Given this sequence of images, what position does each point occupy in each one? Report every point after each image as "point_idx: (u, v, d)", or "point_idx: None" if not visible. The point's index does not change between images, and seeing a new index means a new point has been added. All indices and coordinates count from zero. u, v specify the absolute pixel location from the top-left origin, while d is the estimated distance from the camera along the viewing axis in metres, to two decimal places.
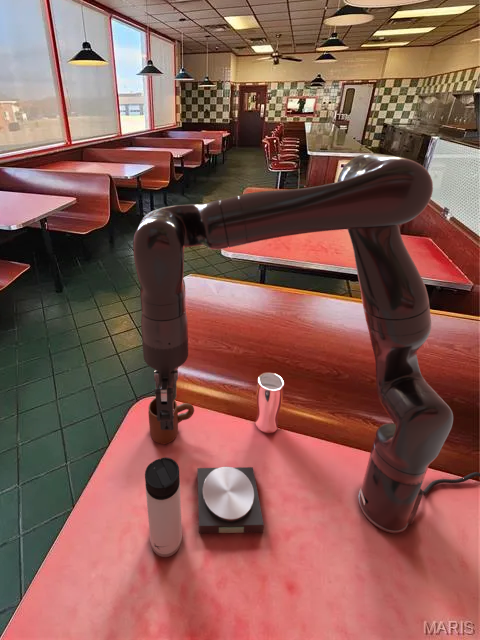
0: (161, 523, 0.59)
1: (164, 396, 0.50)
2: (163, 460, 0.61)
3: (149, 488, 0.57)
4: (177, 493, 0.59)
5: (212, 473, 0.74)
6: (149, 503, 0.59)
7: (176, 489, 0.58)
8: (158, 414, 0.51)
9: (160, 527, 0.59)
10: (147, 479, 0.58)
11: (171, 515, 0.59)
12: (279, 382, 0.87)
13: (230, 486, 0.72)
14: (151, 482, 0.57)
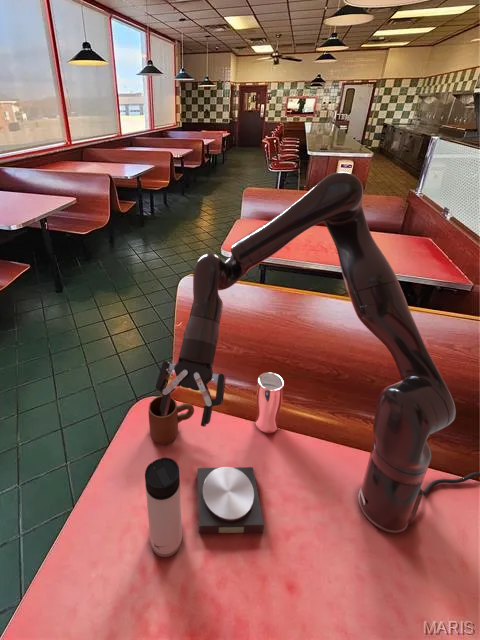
0: (161, 523, 0.59)
1: (224, 379, 0.68)
2: (163, 460, 0.61)
3: (149, 488, 0.57)
4: (177, 493, 0.59)
5: (212, 473, 0.74)
6: (149, 503, 0.59)
7: (176, 489, 0.58)
8: (221, 396, 0.66)
9: (160, 527, 0.59)
10: (147, 479, 0.58)
11: (170, 515, 0.59)
12: (279, 382, 0.87)
13: (230, 486, 0.72)
14: (151, 482, 0.57)
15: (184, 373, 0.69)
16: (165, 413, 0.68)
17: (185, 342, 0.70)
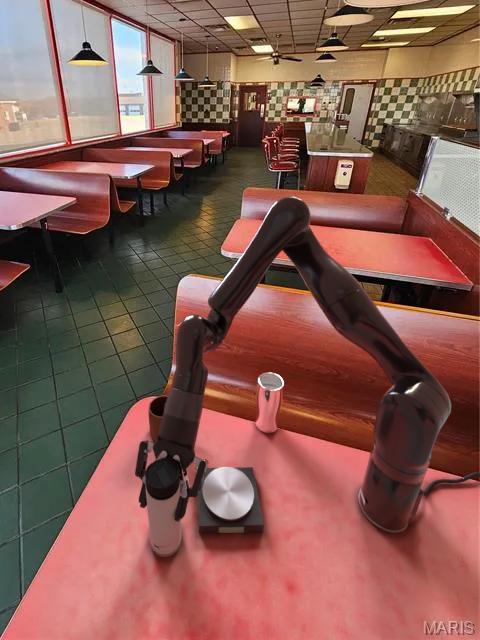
0: (161, 523, 0.59)
1: (206, 466, 0.62)
2: (163, 460, 0.61)
3: (149, 488, 0.57)
4: (177, 493, 0.58)
5: (212, 473, 0.74)
6: (149, 503, 0.59)
7: (176, 489, 0.58)
8: (199, 487, 0.59)
9: (159, 527, 0.59)
10: (147, 479, 0.57)
11: (171, 515, 0.59)
12: (279, 382, 0.87)
13: (230, 486, 0.72)
14: (151, 482, 0.57)
15: (163, 455, 0.62)
16: (145, 505, 0.61)
17: (165, 419, 0.64)
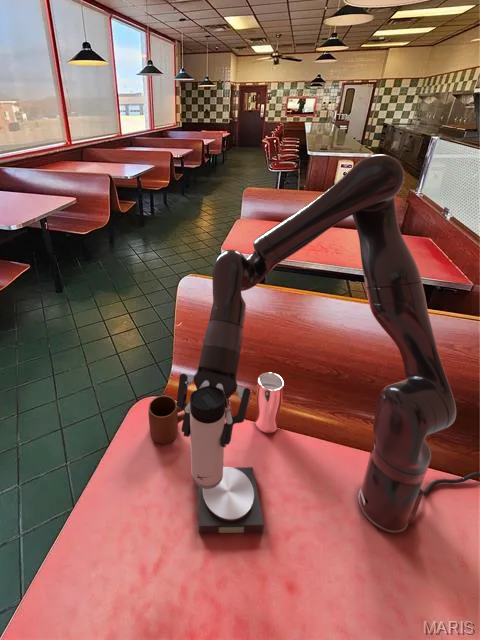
0: (206, 450, 0.58)
1: (250, 394, 0.60)
2: (206, 388, 0.60)
3: (196, 412, 0.56)
4: (223, 419, 0.57)
5: None
6: (194, 429, 0.57)
7: (222, 414, 0.57)
8: (244, 413, 0.58)
9: (205, 455, 0.58)
10: (193, 403, 0.56)
11: (216, 441, 0.58)
12: (279, 382, 0.87)
13: (230, 486, 0.72)
14: (198, 406, 0.56)
15: (205, 384, 0.61)
16: (188, 434, 0.60)
17: (206, 349, 0.63)
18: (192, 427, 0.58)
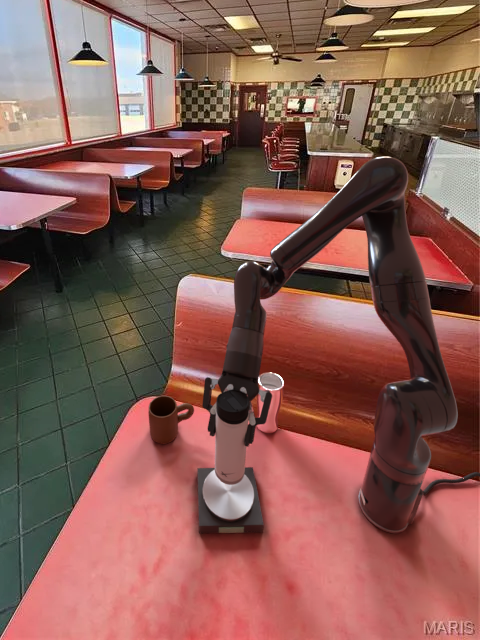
0: (231, 449, 0.62)
1: None
2: (231, 391, 0.64)
3: (223, 413, 0.60)
4: (247, 420, 0.62)
5: (212, 473, 0.74)
6: (220, 429, 0.62)
7: (247, 415, 0.61)
8: (267, 415, 0.63)
9: (229, 453, 0.63)
10: (220, 406, 0.61)
11: (241, 441, 0.62)
12: (279, 382, 0.87)
13: (230, 486, 0.72)
14: (224, 408, 0.60)
15: (229, 388, 0.65)
16: (213, 434, 0.64)
17: (230, 355, 0.67)
18: (218, 427, 0.62)
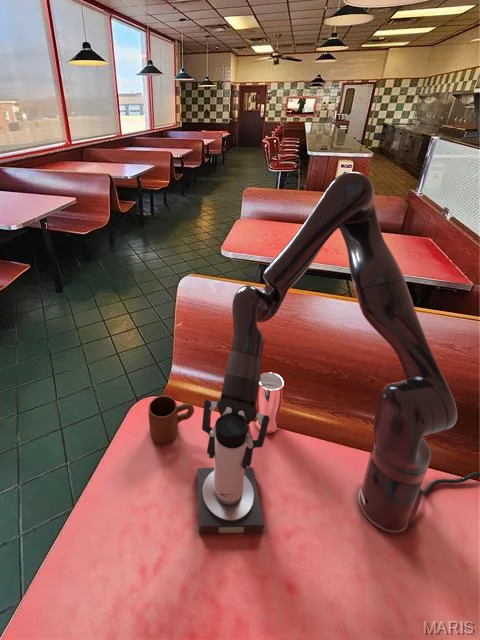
0: (230, 471, 0.64)
1: None
2: (230, 415, 0.66)
3: (221, 438, 0.62)
4: (245, 443, 0.64)
5: (212, 474, 0.75)
6: (219, 453, 0.64)
7: (245, 439, 0.63)
8: None
9: (228, 475, 0.65)
10: (219, 430, 0.63)
11: (239, 463, 0.64)
12: (279, 382, 0.87)
13: None
14: (223, 433, 0.63)
15: (228, 411, 0.68)
16: (213, 456, 0.67)
17: (228, 379, 0.69)
18: (217, 450, 0.65)
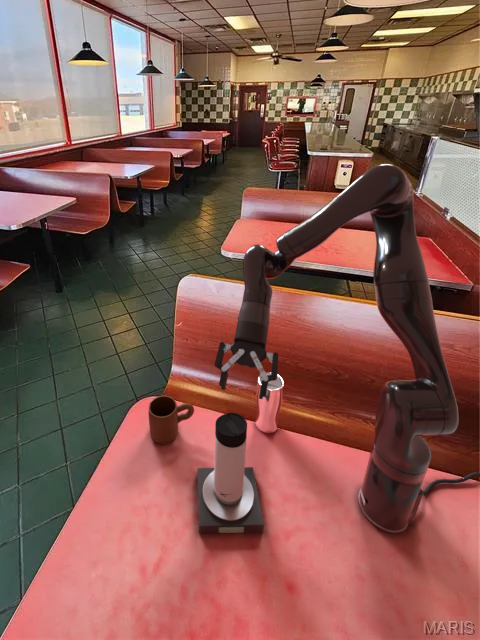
0: (230, 471, 0.65)
1: None
2: (229, 415, 0.67)
3: (221, 437, 0.62)
4: (245, 443, 0.64)
5: (212, 474, 0.75)
6: (219, 452, 0.64)
7: (245, 439, 0.64)
8: None
9: (228, 475, 0.65)
10: (219, 429, 0.63)
11: (239, 463, 0.64)
12: (279, 382, 0.87)
13: None
14: (223, 432, 0.63)
15: (241, 352, 0.76)
16: (224, 388, 0.75)
17: (241, 324, 0.77)
18: (217, 450, 0.65)
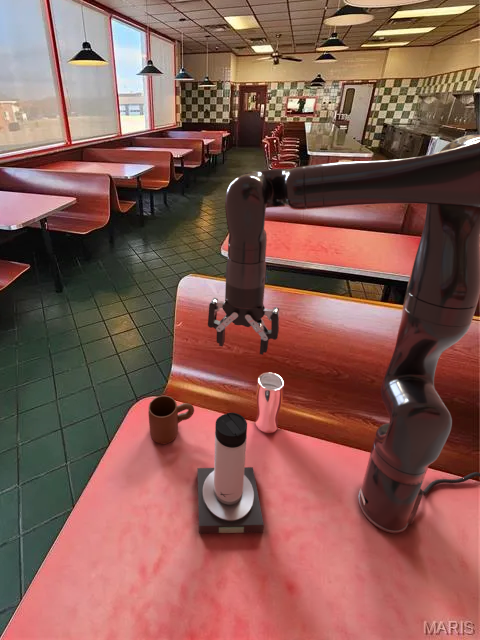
0: (230, 471, 0.65)
1: (278, 314, 0.64)
2: (229, 415, 0.67)
3: (221, 437, 0.62)
4: (245, 443, 0.64)
5: (212, 474, 0.75)
6: (219, 452, 0.64)
7: (245, 439, 0.64)
8: (277, 332, 0.64)
9: (228, 475, 0.65)
10: (219, 429, 0.63)
11: (239, 463, 0.64)
12: (279, 382, 0.87)
13: None
14: (223, 432, 0.63)
15: (234, 315, 0.65)
16: (223, 343, 0.70)
17: (229, 289, 0.62)
18: (217, 450, 0.65)
